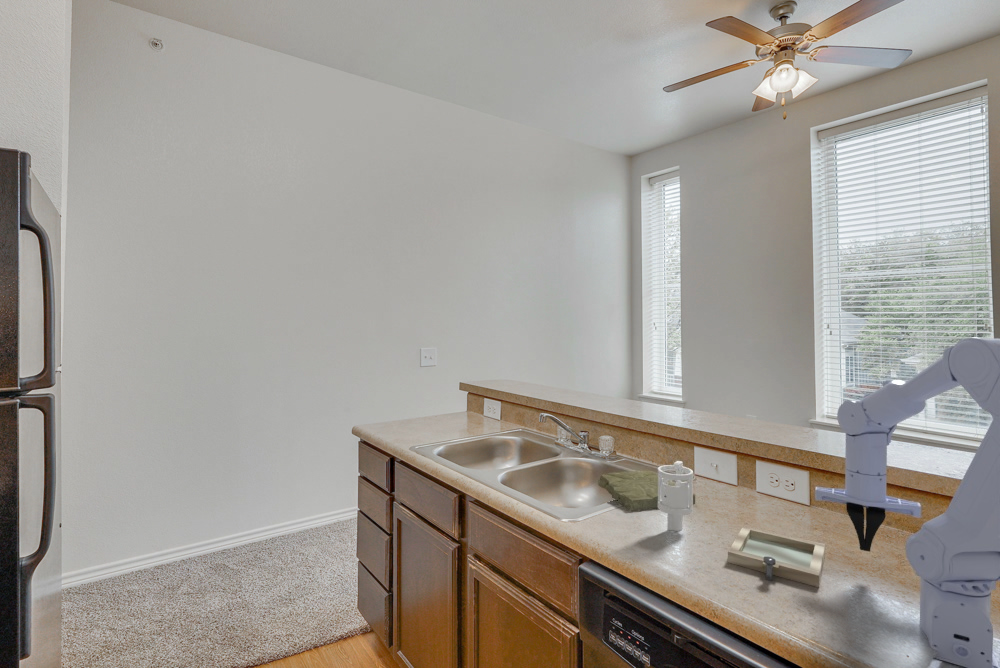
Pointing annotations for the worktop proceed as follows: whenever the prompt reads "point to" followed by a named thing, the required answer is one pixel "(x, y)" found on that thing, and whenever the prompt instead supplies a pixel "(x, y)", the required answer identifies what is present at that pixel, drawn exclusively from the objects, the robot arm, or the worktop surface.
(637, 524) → the worktop surface
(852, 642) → the worktop surface
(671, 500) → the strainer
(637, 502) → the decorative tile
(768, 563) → the knob
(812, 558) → the picture frame
